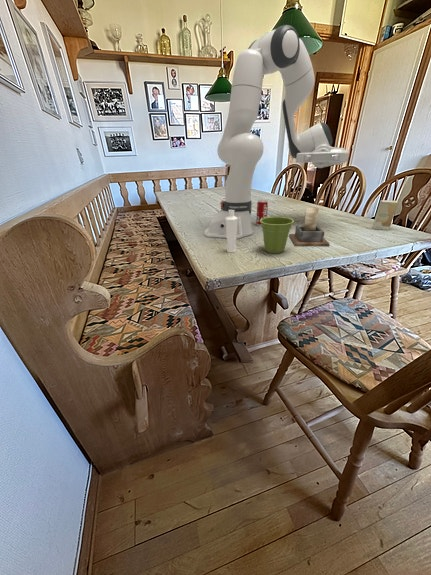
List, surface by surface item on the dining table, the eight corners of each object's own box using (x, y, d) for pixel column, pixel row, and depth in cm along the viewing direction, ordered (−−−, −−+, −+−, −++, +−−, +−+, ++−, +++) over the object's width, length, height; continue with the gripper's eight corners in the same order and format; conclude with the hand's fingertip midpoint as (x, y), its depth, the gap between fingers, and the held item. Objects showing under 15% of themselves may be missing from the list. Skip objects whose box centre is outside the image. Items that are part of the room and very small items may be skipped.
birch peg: (303, 240, 99) (308, 209, 93) (301, 236, 103) (305, 207, 97) (315, 240, 99) (320, 209, 93) (312, 236, 102) (317, 207, 97)
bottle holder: (294, 246, 96) (296, 233, 94) (288, 236, 107) (290, 224, 105) (329, 246, 95) (331, 233, 93) (319, 236, 106) (321, 224, 104)
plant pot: (281, 243, 99) (284, 215, 94) (296, 254, 89) (300, 222, 83) (253, 246, 97) (255, 217, 92) (265, 257, 87) (267, 225, 81)
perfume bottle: (229, 253, 91) (229, 212, 84) (223, 250, 94) (223, 210, 87) (239, 251, 93) (240, 210, 85) (233, 248, 96) (234, 208, 89)
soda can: (266, 223, 127) (267, 199, 122) (266, 226, 123) (268, 201, 117) (255, 223, 128) (257, 199, 122) (256, 226, 123) (257, 201, 118)
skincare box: (373, 229, 113) (381, 201, 107) (372, 226, 116) (379, 199, 110) (389, 230, 111) (398, 202, 105) (388, 227, 114) (396, 200, 108)
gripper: (298, 149, 111) (295, 149, 100) (348, 147, 104) (351, 147, 93) (296, 164, 114) (293, 166, 103) (345, 164, 107) (347, 166, 96)
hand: (321, 157), depth 98 cm, fingers open, 8 cm apart
